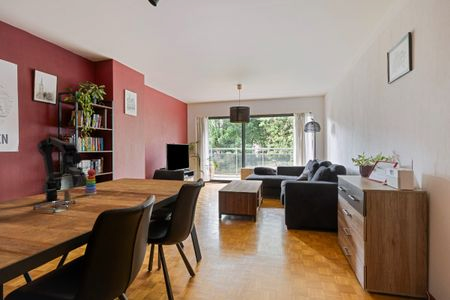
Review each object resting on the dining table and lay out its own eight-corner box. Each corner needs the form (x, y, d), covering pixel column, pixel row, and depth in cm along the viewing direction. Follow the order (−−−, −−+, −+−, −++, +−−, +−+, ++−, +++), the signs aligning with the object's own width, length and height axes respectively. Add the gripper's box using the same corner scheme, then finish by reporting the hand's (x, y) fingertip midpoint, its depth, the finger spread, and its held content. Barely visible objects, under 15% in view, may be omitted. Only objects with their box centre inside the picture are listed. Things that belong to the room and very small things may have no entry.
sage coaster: (51, 211, 130) (51, 211, 130) (60, 209, 135) (60, 208, 135) (57, 212, 128) (57, 212, 128) (67, 210, 133) (67, 209, 133)
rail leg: (32, 209, 134) (32, 205, 134) (67, 202, 152) (67, 198, 152) (42, 211, 131) (42, 207, 131) (76, 203, 149) (76, 199, 149)
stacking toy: (91, 195, 172) (91, 169, 172) (81, 195, 174) (81, 169, 173) (99, 193, 180) (99, 168, 180) (89, 193, 181) (89, 168, 181)
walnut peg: (63, 204, 147) (63, 191, 147) (68, 202, 150) (68, 190, 150) (66, 204, 146) (66, 191, 146) (71, 203, 149) (71, 190, 149)
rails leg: (33, 209, 133) (33, 205, 133) (48, 206, 141) (48, 202, 141) (53, 213, 127) (53, 208, 127) (68, 209, 135) (68, 205, 135)
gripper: (61, 164, 136) (61, 191, 136) (90, 162, 154) (90, 186, 154) (48, 163, 140) (48, 190, 140) (78, 162, 158) (77, 185, 158)
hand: (67, 188), depth 148 cm, fingers open, 9 cm apart
